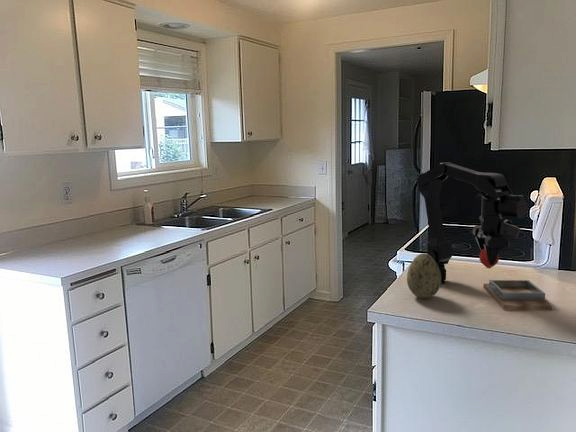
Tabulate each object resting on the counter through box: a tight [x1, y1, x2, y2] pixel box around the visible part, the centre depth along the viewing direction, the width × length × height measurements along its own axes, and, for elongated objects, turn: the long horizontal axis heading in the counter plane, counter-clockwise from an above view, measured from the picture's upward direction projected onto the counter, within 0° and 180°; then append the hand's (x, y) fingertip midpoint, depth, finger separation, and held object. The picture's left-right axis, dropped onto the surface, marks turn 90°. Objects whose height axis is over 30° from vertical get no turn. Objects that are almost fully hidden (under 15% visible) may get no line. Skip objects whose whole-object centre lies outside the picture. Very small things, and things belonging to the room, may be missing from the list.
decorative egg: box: [406, 252, 442, 299], centre depth 153 cm, size 11×11×15 cm
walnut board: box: [482, 283, 553, 311], centre depth 151 cm, size 14×20×2 cm
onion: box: [478, 248, 500, 269], centre depth 149 cm, size 6×6×8 cm
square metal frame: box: [488, 279, 546, 301], centre depth 151 cm, size 13×13×2 cm
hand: (488, 262), depth 150 cm, fingers closed on onion, 6 cm apart
